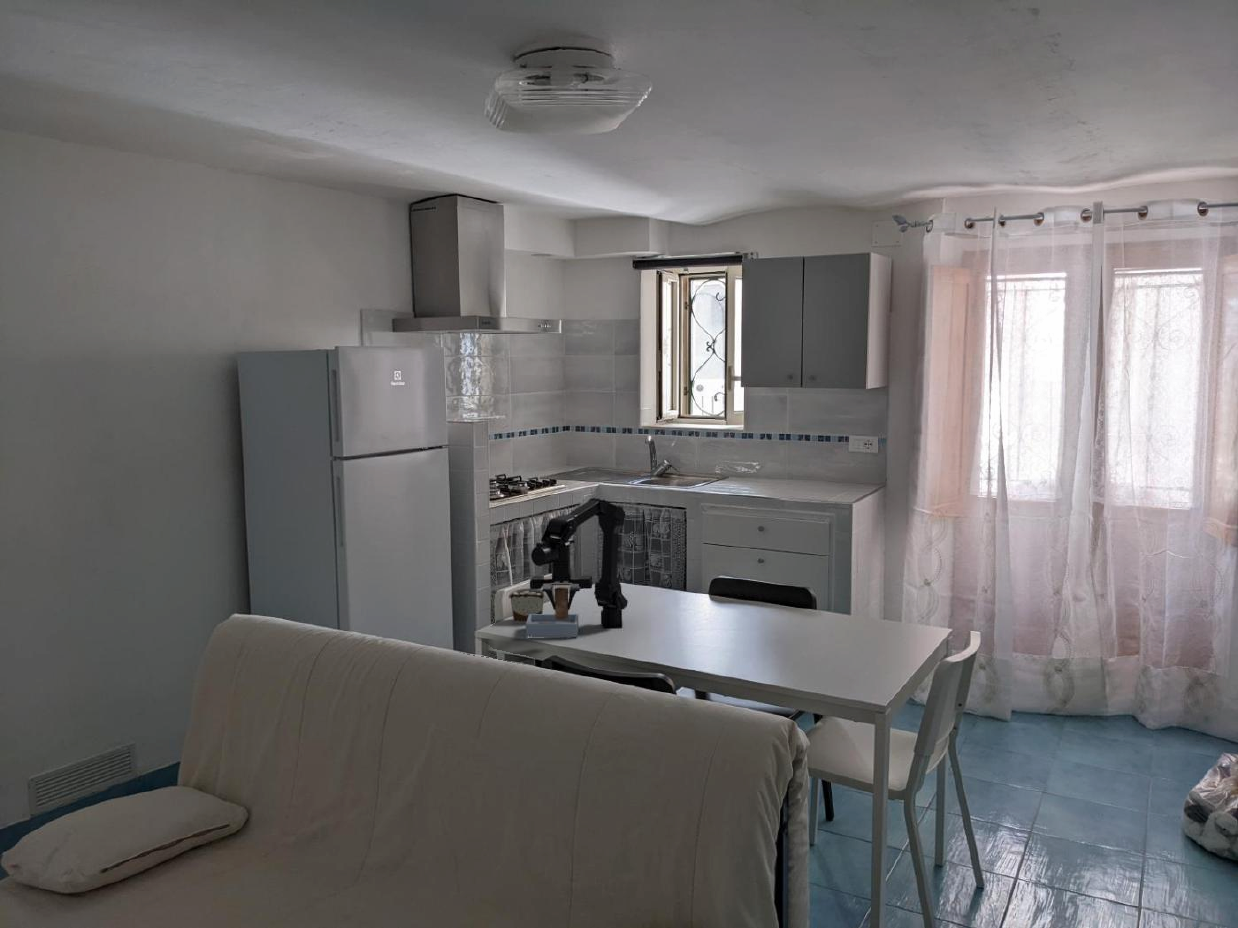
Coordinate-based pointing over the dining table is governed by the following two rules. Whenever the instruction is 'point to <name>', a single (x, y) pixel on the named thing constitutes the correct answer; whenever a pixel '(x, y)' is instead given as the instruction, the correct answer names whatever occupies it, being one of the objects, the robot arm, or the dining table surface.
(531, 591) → the food container
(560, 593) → the peg
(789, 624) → the dining table surface
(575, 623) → the box
